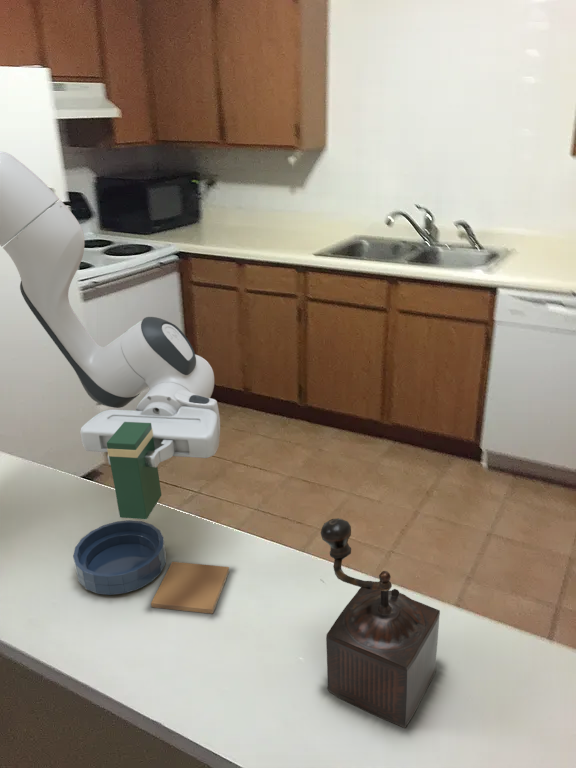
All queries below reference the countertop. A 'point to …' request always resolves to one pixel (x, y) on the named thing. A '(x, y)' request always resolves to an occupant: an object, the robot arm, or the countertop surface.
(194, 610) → the cork mat
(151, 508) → the tea packet
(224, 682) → the countertop surface
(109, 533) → the bowl
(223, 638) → the countertop surface
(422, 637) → the manual coffee grinder
